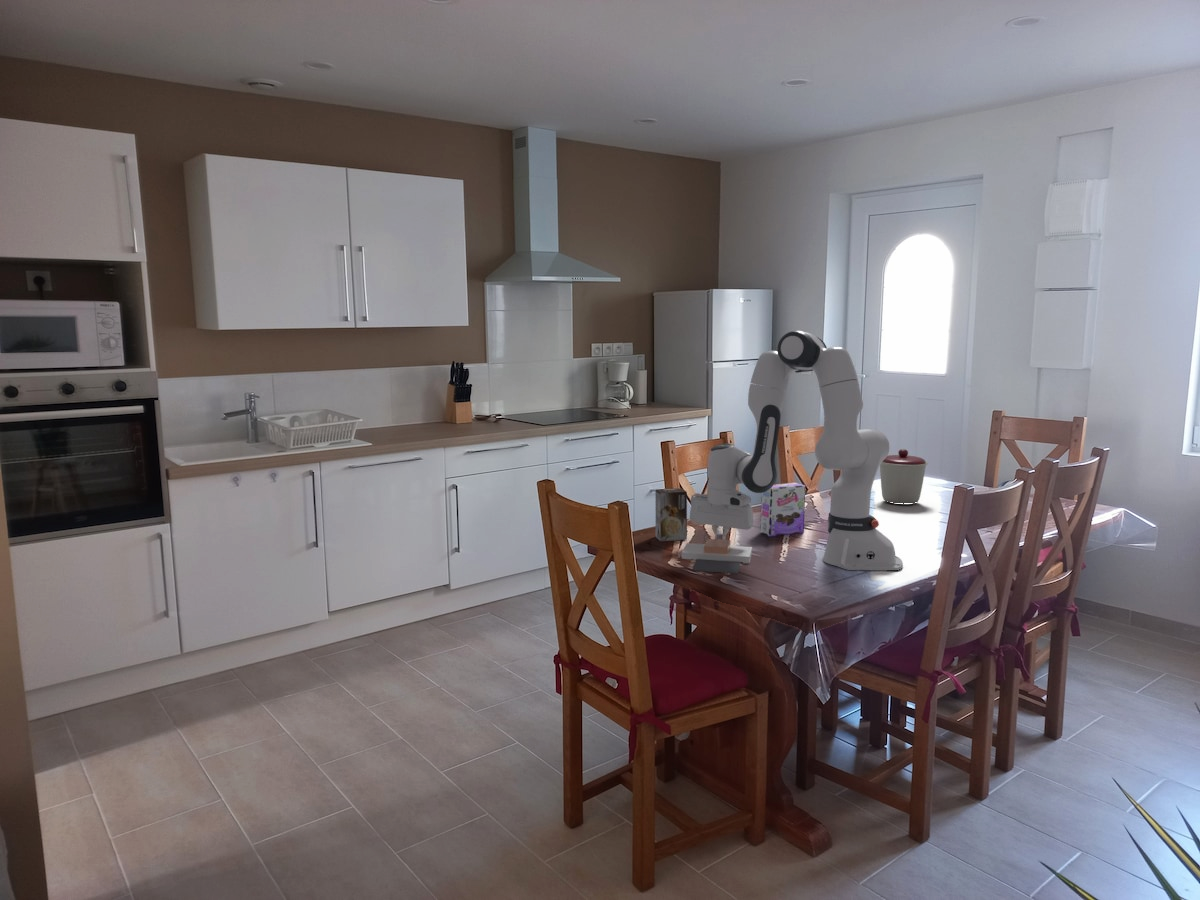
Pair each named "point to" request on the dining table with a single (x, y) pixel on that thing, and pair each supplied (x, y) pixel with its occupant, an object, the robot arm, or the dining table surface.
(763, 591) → the dining table surface
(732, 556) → the deck
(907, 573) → the dining table surface
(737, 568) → the mat
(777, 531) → the candy box
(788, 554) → the dining table surface
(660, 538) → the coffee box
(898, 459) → the canister
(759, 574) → the dining table surface
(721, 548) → the tile
